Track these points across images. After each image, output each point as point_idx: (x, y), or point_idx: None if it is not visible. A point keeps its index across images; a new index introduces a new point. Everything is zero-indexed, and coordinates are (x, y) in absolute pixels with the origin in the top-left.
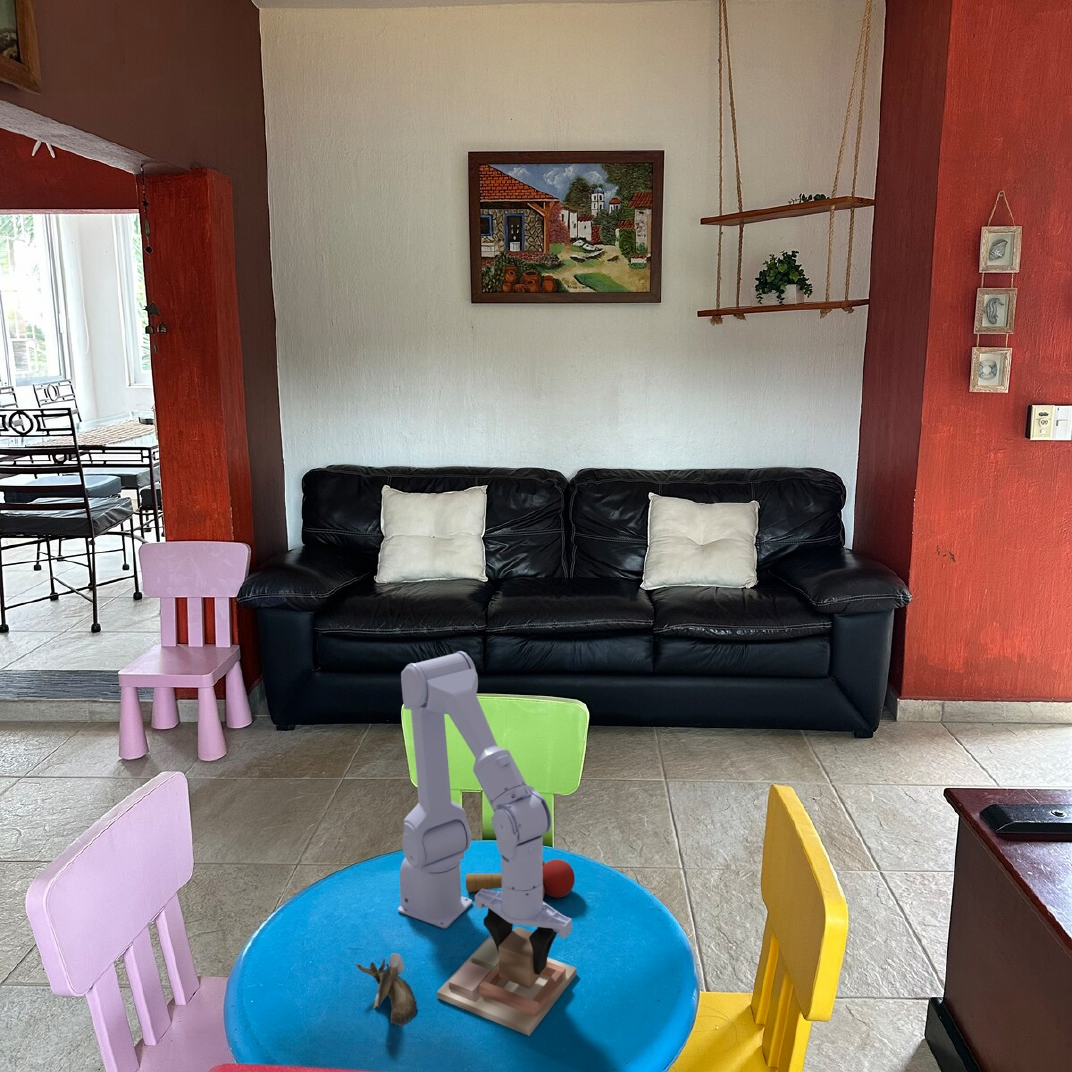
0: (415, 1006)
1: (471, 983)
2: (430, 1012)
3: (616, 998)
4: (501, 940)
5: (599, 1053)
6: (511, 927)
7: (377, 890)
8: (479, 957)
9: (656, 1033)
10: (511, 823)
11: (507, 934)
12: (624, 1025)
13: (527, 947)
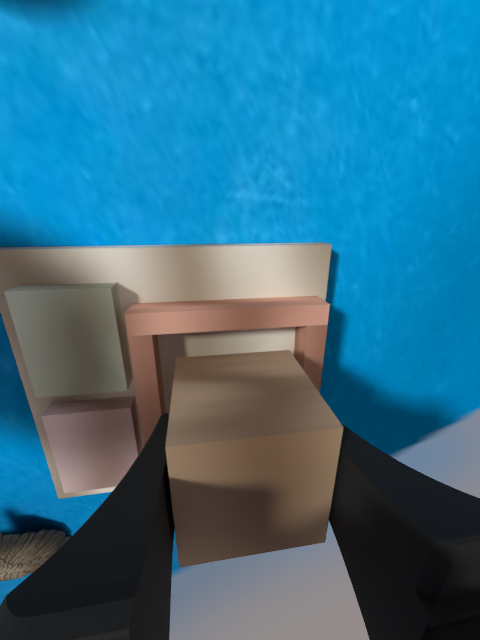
0: (52, 535)
1: (121, 468)
2: (88, 512)
3: (439, 272)
4: (171, 553)
5: (432, 417)
6: (160, 497)
7: None
8: (57, 387)
9: None
10: None
11: (166, 513)
12: (466, 337)
13: (291, 513)
